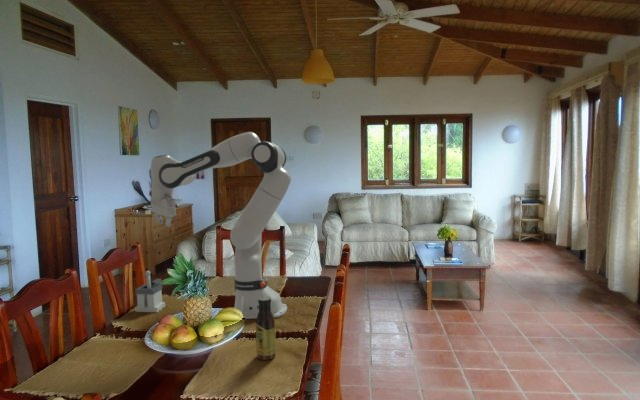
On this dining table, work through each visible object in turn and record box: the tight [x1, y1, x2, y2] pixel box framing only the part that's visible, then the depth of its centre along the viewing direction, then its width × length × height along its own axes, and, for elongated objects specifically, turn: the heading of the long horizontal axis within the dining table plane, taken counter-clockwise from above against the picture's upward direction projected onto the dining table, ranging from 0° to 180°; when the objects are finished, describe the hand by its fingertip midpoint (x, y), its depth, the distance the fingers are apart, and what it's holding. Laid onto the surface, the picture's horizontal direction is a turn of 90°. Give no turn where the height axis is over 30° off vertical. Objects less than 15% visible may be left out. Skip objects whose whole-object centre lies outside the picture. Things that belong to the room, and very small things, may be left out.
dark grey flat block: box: [134, 278, 163, 295], centre depth 198 cm, size 8×13×3 cm, turn 172°
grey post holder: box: [134, 270, 166, 313], centre depth 196 cm, size 10×7×17 cm
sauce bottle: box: [255, 296, 277, 361], centre depth 146 cm, size 7×6×20 cm
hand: (164, 225), depth 196 cm, fingers open, 8 cm apart
